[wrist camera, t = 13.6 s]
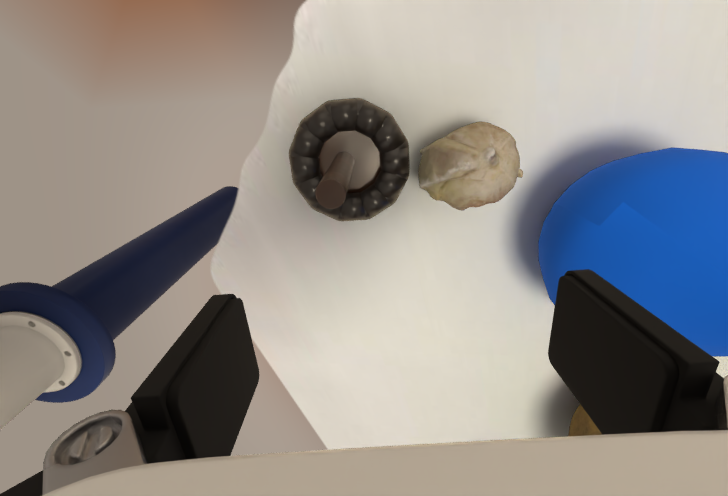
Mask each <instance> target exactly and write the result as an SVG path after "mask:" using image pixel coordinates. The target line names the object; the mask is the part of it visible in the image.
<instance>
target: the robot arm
mask: <svg viewBox="0 0 728 496" xmlns="http://www.w3.org/2000/svg"><path fill="white" fill-rule="evenodd" d="M548 355H549V360H550V362H551V364H552V366H553V367H554V369H555V370H556V371H557V373H558V374H559V376H560V377H561V378H562V380H563V381H564V382H565V384H566V385H567V387H568V388H569V389H570V391H571V392H572V393H573V395H574V396H575V398H576V399H577V400H578V402H579V403H580V404H581V406H582V407H583V409H584V410H585V411H586V413H587V414H588V415H589V417H590V418H591V420H592V421H593V422H594V424H595V425H596V426H597V428H598V429H599V431H600V432H601V433H602V435H588V436H568V437H548V438H528V439H508V440H490V441H471V442H453V443H435V444H417V445H400V446H382V447H365V448H349V449H333V450H318V451H301V452H285V453H268V454H253V455H237V456H230V455H231V452H232V449H233V447H234V444H235V442H236V439H237V436H238V434H239V431H240V429H241V426H242V423H243V421H244V418H245V415H246V413H247V410H248V407H249V405H250V402H251V400H252V397H253V395H254V392H255V389H256V387H257V384H258V380H259V369H258V365H257V360H256V356H255V352H254V348H253V344H252V339H251V335H250V331H249V326H248V322H247V318H246V314H245V310H244V305H243V302H242V300H241V299H240V298H236V296H235V295H234V294H224V295H213V296H212V297H211V298H210V299H209V301H208V302H207V303H206V304H205V306H204V307H203V308H202V309H201V311H200V312H199V313H198V314H197V316H196V317H195V318H194V319H193V321H192V322H191V323H190V325H189V326H188V327H187V328H186V329H185V331H184V332H183V333H182V334H181V336H180V337H179V338H178V339H177V341H176V342H175V343H174V345H173V346H172V347H171V348H170V349H169V351H168V352H167V353H166V354H165V356H164V357H163V358H162V359H161V361H160V362H159V363H158V364H157V366H156V367H155V368H154V369H153V371H152V372H151V373H150V374H149V376H148V377H147V378H146V380H145V381H144V382H143V383H142V384H141V386H140V387H139V388H138V390H137V391H136V392H135V393H134V394H133V396H132V397H131V400H132V403H131V404H130V405H129V407H128V408H127V409H126V411H122V410H109V411H104V412H100V413H97V414H94V415H92V416H89V417H87V418H85V419H83V420H82V421H80V422H78V423H76V424H74V425H73V426H72V427H70V428H69V429H68V430H66V431H65V432H63V433H62V434H61V435H60V436H59V437H58V438H57V439H56V440H55V441H54V442H53V443H52V445H51V446H50V448H49V449H48V451H47V452H46V455H45V459H44V462H43V464H44V465H43V471H41V472H39V473H37V474H35V475H34V476H32V477H30V478H28V479H26V480H25V481H23V482H21V483H19V484H18V485H16V486H14V487H12V488H10V489H9V490H7V491H5V492H3V493H1V494H0V496H728V375H727V376H726V377H725V378H723V377H721V376H720V375H719V374H717V373H716V370H717V367H718V364H719V361H718V360H716V359H715V358H713V357H712V356H711V355H709V354H708V353H706V352H705V351H704V350H702V349H701V348H699V347H698V346H697V345H695V344H694V343H692V342H691V341H690V340H688V339H687V338H686V337H684V336H683V335H681V334H680V333H679V332H677V331H676V330H674V329H673V328H672V327H670V326H669V325H667V324H666V323H665V322H663V321H662V320H660V319H659V318H658V317H656V316H655V315H654V314H652V313H651V312H649V311H648V310H647V309H645V308H644V307H642V306H641V305H640V304H638V303H637V302H635V301H634V300H633V299H631V298H630V297H628V296H627V295H626V294H624V293H623V292H621V291H620V290H619V289H617V288H616V287H615V286H613V285H612V284H610V283H609V282H608V281H606V280H605V279H603V278H602V277H601V276H599V275H598V274H596V273H595V272H594V271H592V270H590V269H585V270H571V271H567V272H566V273H565V275H564V276H561V277H560V278H559V281H558V288H557V295H556V302H555V309H554V316H553V323H552V330H551V336H550V343H549V350H548ZM81 368H82V358H81V353H80V351H79V349H78V346H77V345H76V343H75V342H74V340H73V339H72V338H71V337H70V336H69V334H68V333H67V332H66V331H64V330H63V329H62V328H61V327H60V326H58V325H57V324H55V323H53V322H52V321H50V320H48V319H46V318H44V317H42V316H39V315H35V314H32V313H28V312H22V311H10V312H3V313H1V314H0V430H1V429H2V428H3V427H4V426H6V425H7V424H8V423H9V422H10V421H11V420H12V419H13V418H14V417H16V416H17V415H18V414H19V413H20V412H21V411H23V410H24V409H25V408H26V407H27V406H28V405H29V404H30V403H32V402H33V401H34V400H35V399H36V398H37V397H38V396H39V395H41V394H42V393H43V392H53V391H58V390H61V389H63V388H65V387H67V386H68V385H70V384H71V383H72V382H73V381H74V380H75V379H76V378H77V377H78V375H79V374H80V371H81Z"/></svg>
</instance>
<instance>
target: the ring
mask: <svg viewBox="0 0 728 496" xmlns="http://www.w3.org/2000/svg"><path fill="white" fill-rule="evenodd" d="M344 131H357V132H359V133H361V134H363V135H365V136H367V137H369V138H371V140H372V141H373V143H374V144H375V146H376V147H377V149H378V151H379V152H380V164H381V170H380V172H379V174H378V176H377V178H376V180H375V182H374V184H372V185H371V186H369V187H368V188H366V189H365V190H363V191H362V192H360V193H347V194H346V199H345V201H344V203H343V204H342V205H341V206H340V207H338V208H335V209H328V208H325V207H323V206H322V205H320V204H319V202H318V201H317V199H316V195H315V191H316V188H317V186H318V184H319V182H320V181H321V179H322V178H323V176H322V175H321V173H320V165H319V155H320V152H321V150H322V148H323V145H324V143H325V141H327V140H328V139H329V138H331V137H332V136H334V135H335V134H336V133H338V132H344ZM289 159H290V165H291V172H292V178H293V183H294V185H295V187H296V188H297V189H298V191H299V192H300V193H301V195H302V196H303V197H304V199H305V200H306V201H307V203H308V204H309V205H310V206H311V207H312V208H313V209H314V210H316V211H318V212H320V213H322V214H325V215H327V216H329V217H331V218H333V219H336V220H338V221H353V220H367V219H370V218H372V217H374V216H376V215H377V214H379V213H380V212H382V211H383V210H385V209H386V208H388V207H390V206H391V205H392V204H394V203H395V201H396V200H397V198H398V196H399V194H400V192H401V190H402V189H403V187H404V185H405V183H406V181H407V179H408V177H409V144H408V141H407V139H406V137H405V136H404V134H403V132H402V131H401V129H400V127H399V126H398V124H397V122H396V121H395V119H394V118H393V116H392V115H391V114H390V113H389V112H387V111H385V110H383V109H381V108H379V107H377V106H375V105H374V104H372V103H370V102H368V101H366V100H364V99H361V98H354V99H341V100H330V101H327V102H325V103H324V104H322V105H321V106H320V107H318V108H317V109H316V110H314V111H313V112H312V113H310V114H309V115H308V116H306V117H305V118H304V119H303V120H302V121H301V122H300V124H299V126H298V129H297V131H296V134H295V136H294V139H293V142H292V144H291V147H290V150H289Z"/></svg>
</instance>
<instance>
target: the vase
mask: <svg viewBox="0 0 728 496" xmlns="http://www.w3.org/2000/svg"><path fill="white" fill-rule="evenodd" d="M538 248H539V264H540V268H541V272H542V276H543V280H544V283H545V286H546V289H547V292H548V295H549V298H550V300H551V301H552V302H553V304H554V305H555V302H556V295H557V288H558V281H559V278H560V277H561V276H564V275H565V273H566V272H567V271H571V270H585V269H590V270H592V271H594V272H595V273H596V274H598V275H599V276H601V277H602V278H603V279H605V280H606V281H608V282H609V283H610V284H612V285H613V286H615V287H616V288H617V289H619V290H620V291H621V292H623V293H624V294H626V295H627V296H628V297H630V298H631V299H633V300H634V301H635V302H637V303H638V304H640V305H641V306H642V307H644V308H645V309H647V310H648V311H649V312H651V313H652V314H654V315H655V316H656V317H658V318H659V319H660V320H662V321H663V322H665V323H666V324H667V325H669V326H670V327H672V328H673V329H674V330H676V331H677V332H679V333H680V334H681V335H683V336H684V337H686V338H687V339H688V340H690V341H691V342H692V343H694V344H695V345H697V346H698V347H699V348H701V349H702V350H704V351H705V352H706V353H708V354H709V355H711V356H728V153H725V152H717V151H707V150H697V149H684V148H668V149H662V150H657V151H652V152H646V153H641V154H637V155H633V156H630V157H626V158H622V159H618V160H614V161H612V162H609V163H607V164H605V165H602V166H600V167H598V168H596V169H593V170H591V171H590V172H588V173H587V174H585V175H584V176H583V177H581V178H580V179H578V180H577V181H576V182H574V183H573V184H571V185H570V186H569V188H568V189H567V190H566V191H565V192H564V193H563V194H562V195H561V196H560V197H559V198H558V200H557V201H556V202H555V203H554V205H553V207H552V208H551V210H550V212H549V214H548V215H547V217H546V219H545V221H544V223H543V227H542V230H541V234H540V238H539V241H538Z"/></svg>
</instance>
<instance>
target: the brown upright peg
mask: <svg viewBox="0 0 728 496" xmlns="http://www.w3.org/2000/svg"><path fill="white" fill-rule="evenodd" d="M319 165H320V173H321V175H322V176H323V178H322V179H321V181H320V182H319V184H318V186H317V188H316V191H315V195H316V199H317V201H318V202H319V204H320V205H322V206H323V207H325V208H328V209H335V208H338V207H340V206H341V205H342V204H343V203H344V201H345V199H346V194H347V193H360V192H362V191H363V190H365V189H366V188H368V187H369V186H371V185H372V184H374V182H375V180H376V178H377V176H378V174H379V172H380V170H381V164H380V152H379V151H378V149H377V147H376V146H375V144H374V143H373V141H372V140H371V138H369V137H367V136H365V135H363V134H361V133H359V132H357V131H344V132H338V133H336V134H335V135H334V136H332V137H331V138H329V139H328V140H327V141H325V143H324V145H323V148H322V150H321V152H320V155H319Z"/></svg>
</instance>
